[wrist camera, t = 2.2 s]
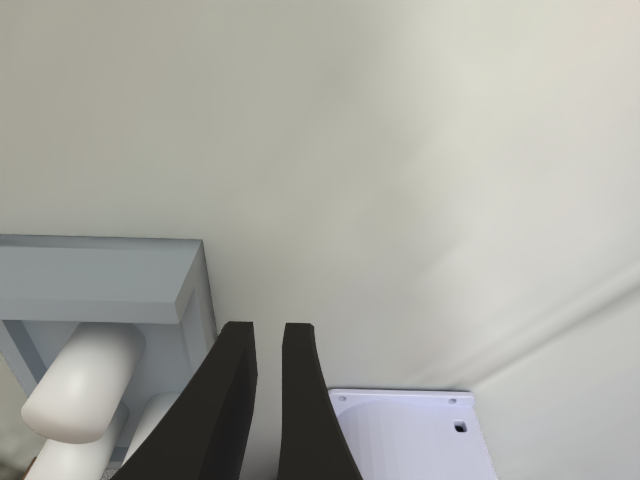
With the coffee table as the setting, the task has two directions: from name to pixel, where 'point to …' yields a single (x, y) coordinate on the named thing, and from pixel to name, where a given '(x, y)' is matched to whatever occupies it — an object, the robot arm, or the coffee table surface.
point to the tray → (106, 298)
